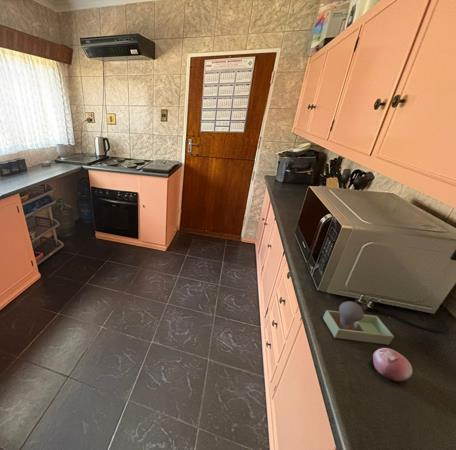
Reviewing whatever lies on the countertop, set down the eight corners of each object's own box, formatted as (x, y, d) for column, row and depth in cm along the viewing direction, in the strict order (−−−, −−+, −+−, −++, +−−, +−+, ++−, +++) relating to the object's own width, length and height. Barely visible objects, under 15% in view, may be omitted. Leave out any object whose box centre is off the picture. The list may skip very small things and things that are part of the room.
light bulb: (358, 335, 77) (372, 311, 72) (339, 335, 77) (352, 311, 72) (345, 319, 82) (357, 297, 77) (327, 319, 82) (338, 297, 77)
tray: (372, 323, 82) (376, 315, 80) (389, 344, 75) (394, 336, 73) (322, 317, 84) (326, 309, 82) (334, 337, 77) (338, 329, 75)
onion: (362, 355, 71) (373, 338, 68) (393, 361, 70) (405, 344, 67) (378, 383, 64) (391, 365, 61) (412, 390, 63) (427, 373, 60)
